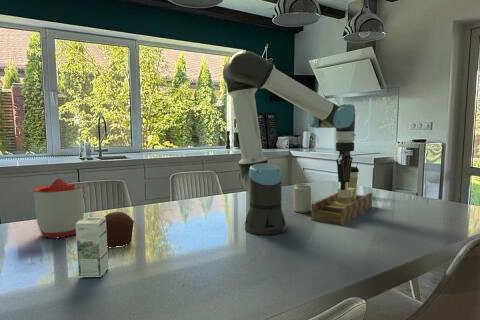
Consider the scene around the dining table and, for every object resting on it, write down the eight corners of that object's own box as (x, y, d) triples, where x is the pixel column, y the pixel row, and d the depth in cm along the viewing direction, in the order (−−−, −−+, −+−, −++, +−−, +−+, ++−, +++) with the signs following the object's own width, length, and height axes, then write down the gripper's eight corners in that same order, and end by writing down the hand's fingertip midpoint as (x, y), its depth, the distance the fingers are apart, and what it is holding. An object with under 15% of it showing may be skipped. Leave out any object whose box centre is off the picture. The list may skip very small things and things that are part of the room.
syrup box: (109, 269, 91) (106, 216, 90) (101, 279, 86) (98, 222, 84) (87, 269, 91) (84, 216, 90) (78, 279, 85) (74, 222, 84)
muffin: (132, 248, 107) (131, 217, 106) (95, 251, 105) (93, 219, 104) (136, 236, 118) (135, 208, 117) (102, 238, 116) (100, 209, 115)
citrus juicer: (99, 230, 125) (96, 176, 123) (50, 244, 111) (46, 183, 109) (75, 223, 134) (72, 173, 132) (27, 236, 120) (23, 179, 118)
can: (309, 209, 154) (310, 182, 152) (311, 213, 146) (312, 185, 145) (293, 208, 154) (293, 182, 153) (293, 213, 147) (294, 185, 146)
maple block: (351, 204, 144) (351, 190, 144) (337, 202, 148) (337, 189, 147) (355, 201, 149) (356, 188, 148) (342, 200, 153) (342, 186, 152)
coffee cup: (360, 194, 184) (361, 167, 182) (355, 198, 175) (356, 169, 174) (341, 192, 189) (342, 165, 187) (336, 196, 181) (337, 167, 179)
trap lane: (343, 225, 128) (343, 208, 128) (311, 219, 136) (311, 203, 136) (372, 206, 157) (372, 192, 156) (344, 202, 165) (344, 189, 164)
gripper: (348, 142, 136) (347, 201, 138) (359, 141, 146) (357, 195, 148) (330, 142, 140) (329, 198, 142) (341, 140, 150) (340, 193, 153)
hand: (343, 197), depth 145 cm, fingers closed
